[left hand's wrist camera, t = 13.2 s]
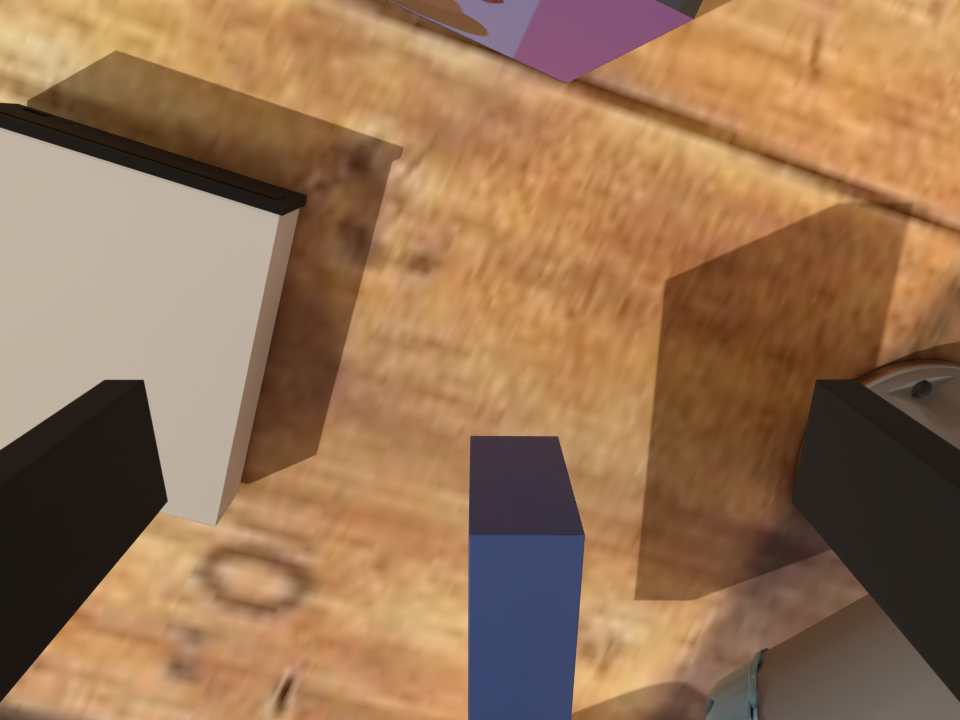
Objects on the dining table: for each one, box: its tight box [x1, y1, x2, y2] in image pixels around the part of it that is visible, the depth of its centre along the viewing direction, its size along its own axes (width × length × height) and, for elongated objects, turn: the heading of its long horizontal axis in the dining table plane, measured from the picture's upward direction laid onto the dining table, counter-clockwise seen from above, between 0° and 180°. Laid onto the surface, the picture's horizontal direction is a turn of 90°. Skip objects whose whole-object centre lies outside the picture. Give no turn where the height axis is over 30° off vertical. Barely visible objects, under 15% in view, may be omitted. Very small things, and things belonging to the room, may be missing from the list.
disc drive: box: [0, 103, 307, 526], centre depth 40 cm, size 18×22×5 cm
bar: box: [468, 436, 585, 720], centre depth 34 cm, size 26×5×9 cm, turn 0°
